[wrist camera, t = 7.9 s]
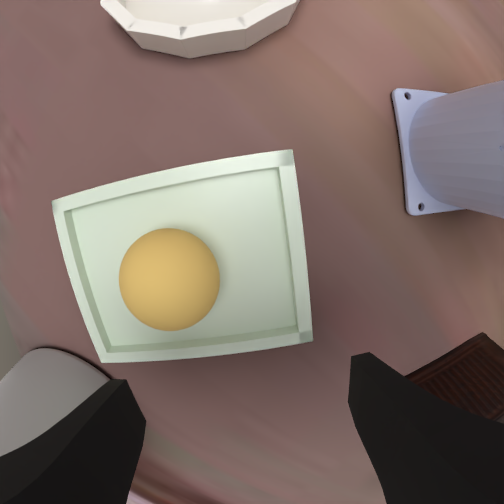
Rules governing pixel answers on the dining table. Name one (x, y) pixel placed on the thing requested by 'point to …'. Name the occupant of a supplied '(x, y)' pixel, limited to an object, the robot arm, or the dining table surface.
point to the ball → (169, 279)
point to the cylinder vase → (42, 394)
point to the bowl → (199, 23)
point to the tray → (218, 241)
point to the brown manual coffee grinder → (468, 378)
